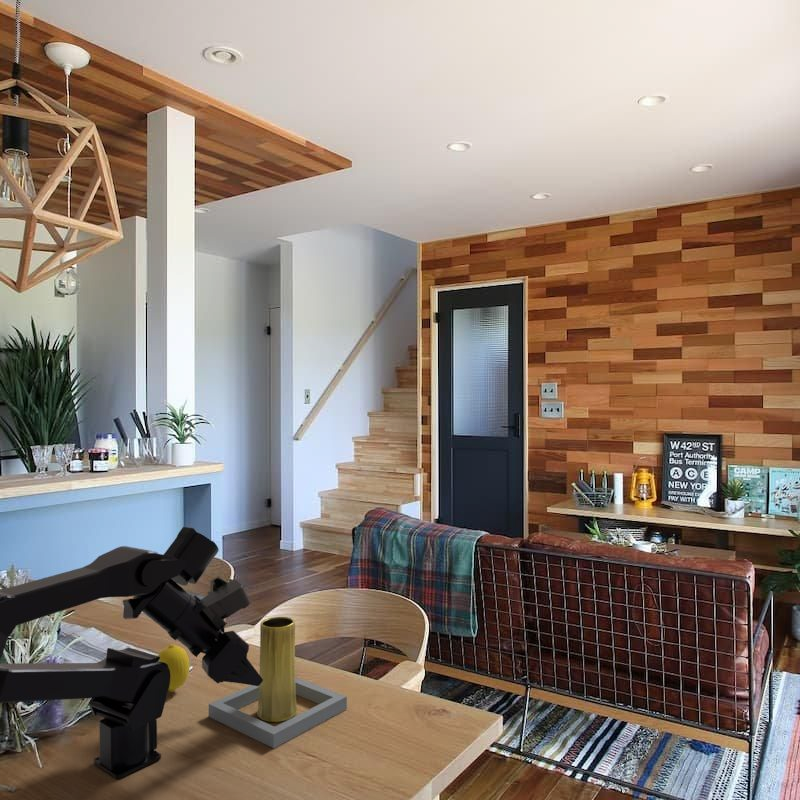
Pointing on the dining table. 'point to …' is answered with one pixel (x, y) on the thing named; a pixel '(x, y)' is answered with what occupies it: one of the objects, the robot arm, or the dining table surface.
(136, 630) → the dining table surface
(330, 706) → the stand
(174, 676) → the lemon
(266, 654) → the vase
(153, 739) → the robot arm
